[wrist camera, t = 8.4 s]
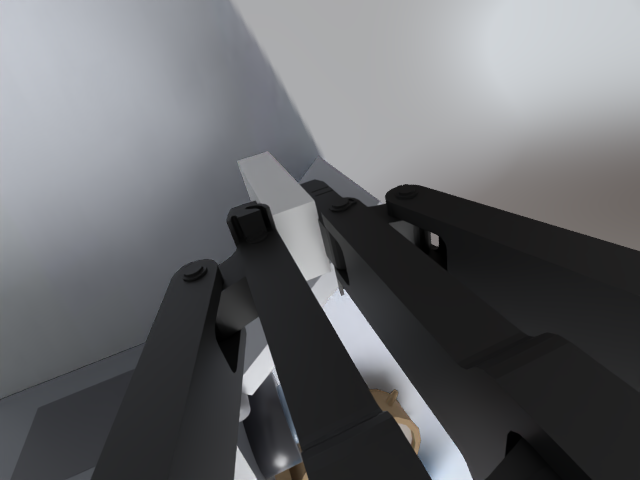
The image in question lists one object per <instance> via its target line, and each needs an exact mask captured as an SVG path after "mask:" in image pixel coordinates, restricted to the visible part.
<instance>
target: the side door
mask: <svg viewBox="0 0 640 480" xmlns="http://www.w3.org/2000/svg"><path fill="white" fill-rule="evenodd" d="M314 179H316V180H320V181H324V182H325V183H326V184H327V185H329V187H331V188H332V189H333V190H334V191H335V192H337V193H338V194H339V195H340V196H341V197H342V198H343V197H352V198H356V199H358V200H360V201H361V202H362V203H364V204H365V205H366V206H367V207H369V206H376V205H381V204H383V203H382V202H381V201H379V200H378V199H377V198H375V197H374V196H372V195H371V194H370V193H368V192H367V191H366V190H364V189H363V188H362V187H360V186H359V185H358V184H356V183H355V182H353V181H352V180H351V179H349V178H348V177H347V176H345V175H344V174H342V173H341V172H340V171H338V170H337V169H336V168H334V167H333V166H332V165H330V164H329V163H328V162H326V161H325V160H323V159H322V158H321V157H319V156H318V157H317V158H316V159H315V161H314V162H313V164H312V165H311V166H310V168H309V169H308V170H307V172H306V173H305V175H304V176H303V177H302V179H301V180H300V181H299V184H302V183H305V182H308V181H311V180H314ZM329 263H330V267H331V271H330V272H328V273H325V274H323V275H320V276H318V277H315V278H313V279H310V280H307V283H308V285H309V286H310V288H311V290H312V292H313V293H314V295H315V297H316V299H317V300H318V302H319V304H320V305H321V307H322V308H323V306H324V305H325V304H326V303H327V301H328V300H329V299H330V298H331V296H332V295H333V294H334V293H335V291H336V290H337V289H338V288H339V286H338V282H337V278H336V273H335V269H334V265H333V264H332V262H331V261H330V260H329ZM245 328H246V332H247V337H246V348H245V360H244V371H243V383H242V394H241V406H240V417H239V422H240V421H242V420H244V419H245V418H246V417H247V416H248V415H249V413H250V405H249V400H248V395H253V394H254V392H255V391H256V390H257V389H258V387H259V386H260V385H261V384H262V382H263V381H264V380H265V379H266V377H267V376H268V375H269V374H270V372H271V371H272V370H273V369H274V367H275V365H274V362H273V359H272V356H271V353H270V350H269V347H268V344H267V340H266V337H265V334H264V331H263V328H262V325H261V322H260V319H259V317H258V318H256V319H255V320H253V321H252V322H251V323H249V324H248V325H246V326H245ZM247 394H248V395H247Z"/></svg>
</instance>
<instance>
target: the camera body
mask: <svg viewBox="0 0 640 480" xmlns="http://www.w3.org/2000/svg"><path fill="white" fill-rule="evenodd" d="M144 346H145V343H143V344H141V345H138V346H136V347H133V348H131V349H128V350H126V351H123V352H121V353H118V354H115V355H113V356H110V357H108V358H105V359H103V360H100V361H98V362H95V363H93V364H90V365H87V366H85V367H82V368H80V369H77V370H75V371H72V372H70V373H67V374H65V375H62V376H59V377H57V378H54V379H52V380H49V381H47V382H44V383H42V384H39V385H37V386H34V387H31V388H29V389H26V390H24V391H21V392H19V393H16V394H14V395H11V396H9V397H6V398H3V399H1V400H0V480H90V479H91V477H92V474H93V472H94V469H95V467H96V464H97V462H98V459H99V457H100V455H101V452H102V450H103V447H104V445H105V442H106V440H107V437H108V435H109V432H110V430H111V427H112V425H113V422H114V420H115V417H116V415H117V413H118V410H119V408H120V405H121V403H122V400H123V398H124V395H125V393H126V390H127V388H128V385H129V383H130V380H131V378H132V375H133V373H134V370H135V368H136V366H137V363H138V361H139V358H140V356H141V353H142V351H143V348H144ZM247 395H248V394H247ZM248 400H249V405H250V413H249V415H248V416H247V417H246V418H245V419H244V420H242V421H240V422H239V428H238V440H237V451H236V463H235V474H234V480H276V479H275V475H277V474H279V473H281V472H283V471H285V470H287V469H289V468H291V467H293V466H295V465H297V464H299V463H301V462H303V459H302V455H301V451H300V447H299V444H298V443H299V440H298V437H297V434H296V431H295V427H294V424H293V421H292V418H291V415H290V412H289V409H288V406H287V403H286V400H285V396H284V393H283V390H282V387H281V385H279V386H278V384H277V382H276V379H275V377H274V375H273V373H272V371H271V372H270V374H269V375H268V376H267V377H266V379H265V380H264V381H263V382H262V384H261V385H260V386H259V387H258V389H257V390H256V391H255V392H254V394H253V395H248Z"/></svg>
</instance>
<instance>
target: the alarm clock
mask: <svg viewBox="0 0 640 480" xmlns="http://www.w3.org/2000/svg"><path fill="white" fill-rule="evenodd" d="M369 390H370V392H371V394H372V395H373V397H374V399H375V401H376V402H377V404H378V405H379V407H380V408H381V409H382V410H383V411H388V412H389V413H390V414H391V415H392V416H393V417H394V419H395V420H396V422H397V423H398V425H399V426H400V428H401V429H402V431H403V433H404V434H405V436H406V438H407V439H408V441H409V443H410V444H411V446H412V448H413V449H414V451H415V453H416V454H418V450H419V446H420V442H421V438H420V433H419V428H418V427H417V426H416V425H415V424H414V423H413V422H412V420H411V419H410V418H409V416H408V415H407V414H406V412H405V411H404V410H403V408H402V407H401V406H400V404H399V402H398V401H397V400H396V398H397V395H398V391H397V390H395V389H394V390H393V391H392V392H391V394H390V393H387V392H384V391H381V390H378V389H369ZM298 444H299V447H300V451H301V452H302V450H301V446H300V443H298ZM275 479H276V480H308V476H307V473H306V470H305V466H304V463H303V462H301V463H299V464H297V465H295V466H293V467H291V468H289V469H287V470H285V471H283V472H281V473H279V474H277V475H275Z"/></svg>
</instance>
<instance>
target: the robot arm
mask: <svg viewBox="0 0 640 480" xmlns="http://www.w3.org/2000/svg"><path fill="white" fill-rule="evenodd" d="M237 163H238V166H239V169H240V171H241V174H242V177H243V180H244V183H245V186H246V189H247V192H248V195H249V198H250V201H251V202H249V203H246V204H244V205H241V206H238V207H235V208H232V209H231V210H230V212H229V214H228V217H227V224H228V227H229V229H230V232H231V234H232V237H233V239H234V242H235V244H236V247H237V249H236V251H235V253H234V254H233V255H232V256H231V257H230V258H229V259H228V260H226V261H225V262H223V263H221V264H220V265H217V263H216V262H215V261H213V260H209V259H204V260H198V261H195V262H191V263H188V265H185V266H183V267H182V268H181V269H180V270H179V271H177V272H176V273H175V274H174V276H173V277H172V279H171V281H170V284H169V286H168V289H167V291H166V294H165V296H164V299H163V301H162V304H161V306H160V309H159V311H158V314H157V316H156V319H155V321H154V324H153V326H152V328H151V331H150V333H149V336H148V338H147V341H146V343H145V346H144V348H143V351H142V353H141V356H140V358H139V361H138V363H137V366H136V368H135V370H134V373H133V375H132V378H131V380H130V383H129V385H128V388H127V390H126V393H125V395H124V398H123V400H122V403H121V405H120V408H119V410H118V413H117V415H116V417H115V420H114V422H113V425H112V427H111V430H110V432H109V435H108V437H107V440H106V442H105V445H104V447H103V450H102V452H101V455H100V457H99V459H98V462H97V464H96V467H95V469H94V472H93V474H92V477H91V479H90V480H234V474H235V463H236V451H237V440H238V428H239V417H240V406H241V394H242V383H243V371H244V360H245V348H246V337H247V332H246V328H245V326H246V325H248V324H249V323H251V322H252V321H253V320H255V319H256V318H258V317H259V319H260V322H261V325H262V328H263V331H264V334H265V337H266V340H267V344H268V347H269V350H270V353H271V356H272V359H273V362H274V365H275V368H276V372H277V375H278V378H279V381H280V384H281V387H282V390H283V393H284V396H285V400H286V403H287V406H288V409H289V412H290V415H291V418H292V421H293V424H294V427H295V431H296V434H297V437H298V440H299V443H300V446H301V450H302V452H301V455H302V459H303V463H304V466H305V470H306V473H307V476H308V480H432V479H431V477H430V476H429V474H428V472H427V471H426V469H425V467H424V466H423V464H422V462H421V461H420V459H419V458H418V456H417V454H416V453H415V451H414V449H413V448H412V446H411V444H410V443H409V441H408V439H407V438H406V436H405V434H404V433H403V431H402V429H401V428H400V426H399V425H398V423H397V422H396V420H395V419H394V417H393V416H392V415H391V414H390V413H389V412H388V411H383V410H382V409H381V408H380V407H379V405H378V404H377V402H376V401H375V399H374V397H373V395H372V394H371V392H370V390H369V388H368V387H367V385H366V383H365V382H364V380H363V378H362V376H361V375H360V373H359V371H358V369H357V368H356V366H355V364H354V363H353V361H352V359H351V357H350V356H349V354H348V352H347V350H346V349H345V347H344V345H343V344H342V342H341V340H340V338H339V337H338V335H337V333H336V331H335V330H334V328H333V326H332V324H331V323H330V321H329V319H328V318H327V316H326V314H325V312H324V311H323V309H322V307H321V305H320V304H319V302H318V300H317V299H316V297H315V295H314V293H313V292H312V290H311V288H310V286H309V285H308V283H307V280H310V279H313V278H315V277H318V276H320V275H323V274H325V273H328V272H330V271H331V267H330V263H329V260H330V261H331V262H332V264H333V265H334V269H335V273H336V278H337V282H338V286H339V290H340V294H341V296H342V295H344V292H343V289H345V290H346V292H347V293H348V294H349V296H350V297H351V299H352V300H353V301H354V303H355V304H356V306H357V307H358V308H359V310H360V311H361V313H362V314H363V315H364V317H365V318H366V320H367V321H368V322H369V324H370V325H371V327H372V328H373V329H374V331H375V332H376V334H377V335H378V336H379V338H380V339H381V341H382V342H383V343H384V345H385V346H386V348H387V349H388V351H389V352H390V353H391V355H392V356H393V358H394V359H395V360H396V362H397V363H398V365H399V366H400V367H401V369H402V370H403V372H404V373H405V374H406V376H407V377H408V379H409V380H410V381H411V383H412V384H413V386H414V387H415V388H416V390H417V391H418V393H419V394H420V395H421V397H422V398H423V400H424V401H425V402H426V404H427V405H428V407H429V408H430V409H431V411H432V412H433V414H434V415H435V416H436V418H437V419H438V421H439V422H440V424H441V425H442V426H443V428H444V429H445V431H446V432H447V433H448V435H449V436H450V438H451V439H452V440H453V442H454V443H455V445H456V446H457V447H458V449H459V450H460V452H461V454H462V455H463V457H464V459H465V461H466V463H467V466H468V468H469V471H470V473H471V476H472V478H473V480H640V251H637V250H633V249H630V248H627V247H624V246H620V245H617V244H614V243H610V242H607V241H604V240H600V239H597V238H594V237H590V236H587V235H584V234H580V233H577V232H574V231H570V230H567V229H564V228H560V227H557V226H553V225H550V224H547V223H544V222H540V221H537V220H533V219H530V218H527V217H524V216H520V215H517V214H513V213H510V212H507V211H504V210H500V209H497V208H494V207H490V206H487V205H484V204H480V203H477V202H474V201H470V200H467V199H464V198H460V197H457V196H453V195H450V194H447V193H443V192H440V191H437V190H433V189H430V188H427V187H423V186H419V185H408V184H405V185H403V186H402V185H400V186H397V187H395V188H393V189H391V190H390V191H388V192H387V193H386V195H385V199H386V204H381V205H376V206H369V207H367V206H366V205H365V204H364V203H362V202H361V201H360V200H358V199H356V198H352V197H343V198H342V197H341V196H340V195H339V194H338V193H337V192H335V191H334V190H333V189H332V188H331V187H329V185H327V184H326V183H325V182H324V181H320V180H316V179H314V180H311V181H308V182H305V183H302V184H299V183H298V182H297V181H296V180H295V179H294V178H293V177H292V176H291V175H290V174H289V173H288V172H287V171H286V170H285V169H284V168H283V166H282V165H281V164H280V163H279V162H278V161H277V160H276V159H275V158H274V157H273V156H272V155H271V154H270V153H269V152H268V151H266V152H263V153H260V154H257V155H254V156H251V157H247V158H244V159H241V160H238V161H237ZM431 232H432V233H434V234H436V235H438V236H439V247H438V246H434V245H432V244H431Z"/></svg>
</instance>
